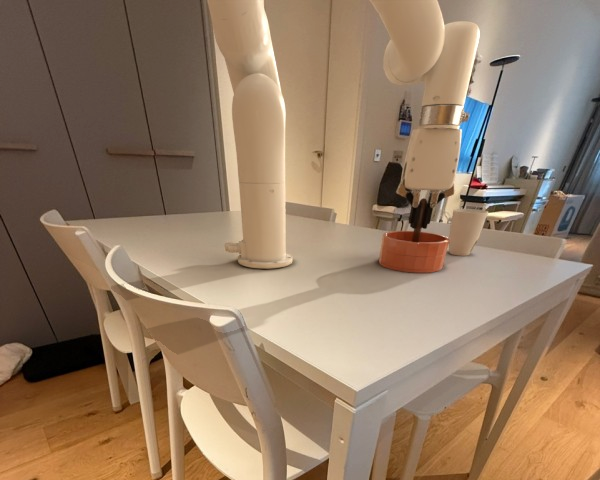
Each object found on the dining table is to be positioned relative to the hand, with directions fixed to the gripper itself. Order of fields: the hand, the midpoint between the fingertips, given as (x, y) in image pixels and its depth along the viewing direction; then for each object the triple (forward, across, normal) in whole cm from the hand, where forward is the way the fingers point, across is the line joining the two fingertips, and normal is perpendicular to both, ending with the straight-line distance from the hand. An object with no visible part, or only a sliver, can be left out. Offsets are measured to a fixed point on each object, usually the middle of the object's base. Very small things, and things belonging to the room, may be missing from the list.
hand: (418, 227), depth 74 cm
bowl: (+8, 0, 0) cm, 8 cm away
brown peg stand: (+7, 0, 0) cm, 7 cm away
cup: (+8, -16, -13) cm, 22 cm away
